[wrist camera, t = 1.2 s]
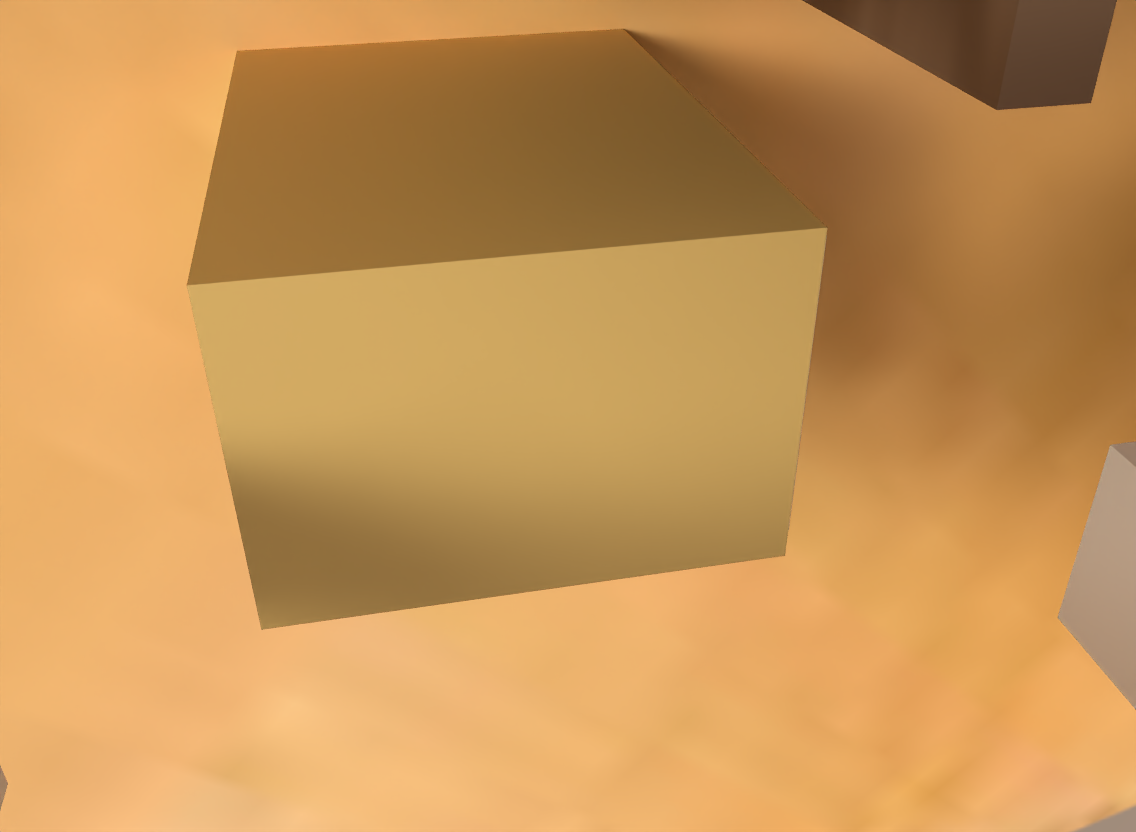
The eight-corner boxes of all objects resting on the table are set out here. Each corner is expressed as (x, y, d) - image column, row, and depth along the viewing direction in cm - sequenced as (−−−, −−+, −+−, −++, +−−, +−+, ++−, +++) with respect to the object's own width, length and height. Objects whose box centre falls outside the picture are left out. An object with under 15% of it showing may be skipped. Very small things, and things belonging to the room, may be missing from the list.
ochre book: (278, 296, 25) (261, 629, 16) (236, 51, 22) (187, 285, 13) (624, 264, 26) (794, 554, 17) (630, 28, 23) (838, 226, 14)
